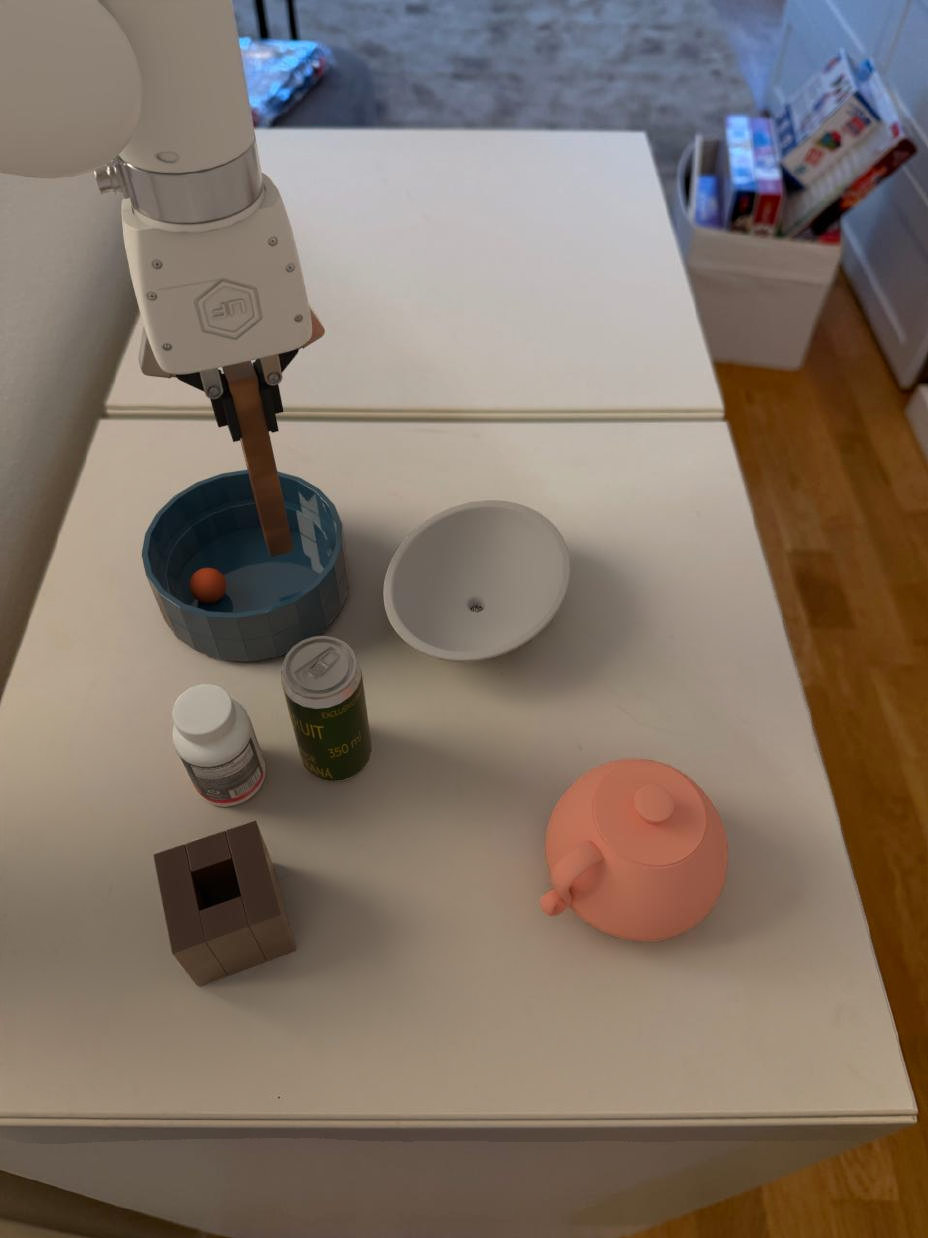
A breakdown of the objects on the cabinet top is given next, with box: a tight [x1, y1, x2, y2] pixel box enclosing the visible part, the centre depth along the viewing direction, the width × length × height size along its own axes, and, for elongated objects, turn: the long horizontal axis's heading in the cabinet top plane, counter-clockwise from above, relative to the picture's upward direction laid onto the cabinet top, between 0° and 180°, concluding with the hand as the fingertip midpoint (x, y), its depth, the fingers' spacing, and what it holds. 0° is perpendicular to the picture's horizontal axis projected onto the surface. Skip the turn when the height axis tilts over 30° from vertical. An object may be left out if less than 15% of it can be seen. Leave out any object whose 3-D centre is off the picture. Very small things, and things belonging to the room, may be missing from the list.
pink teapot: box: [539, 758, 729, 942], centre depth 61 cm, size 12×14×10 cm
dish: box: [382, 499, 572, 663], centre depth 77 cm, size 18×14×5 cm
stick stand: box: [152, 820, 297, 988], centre depth 60 cm, size 7×7×7 cm
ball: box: [189, 568, 226, 603], centre depth 77 cm, size 3×3×3 cm
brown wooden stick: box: [221, 360, 294, 557], centre depth 70 cm, size 2×2×18 cm
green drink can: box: [280, 635, 373, 783], centre depth 66 cm, size 5×5×12 cm
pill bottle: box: [171, 683, 267, 808], centre depth 65 cm, size 5×5×10 cm
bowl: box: [141, 469, 350, 662], centre depth 77 cm, size 16×16×6 cm
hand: (251, 423), depth 66 cm, fingers closed on brown wooden stick, 2 cm apart
